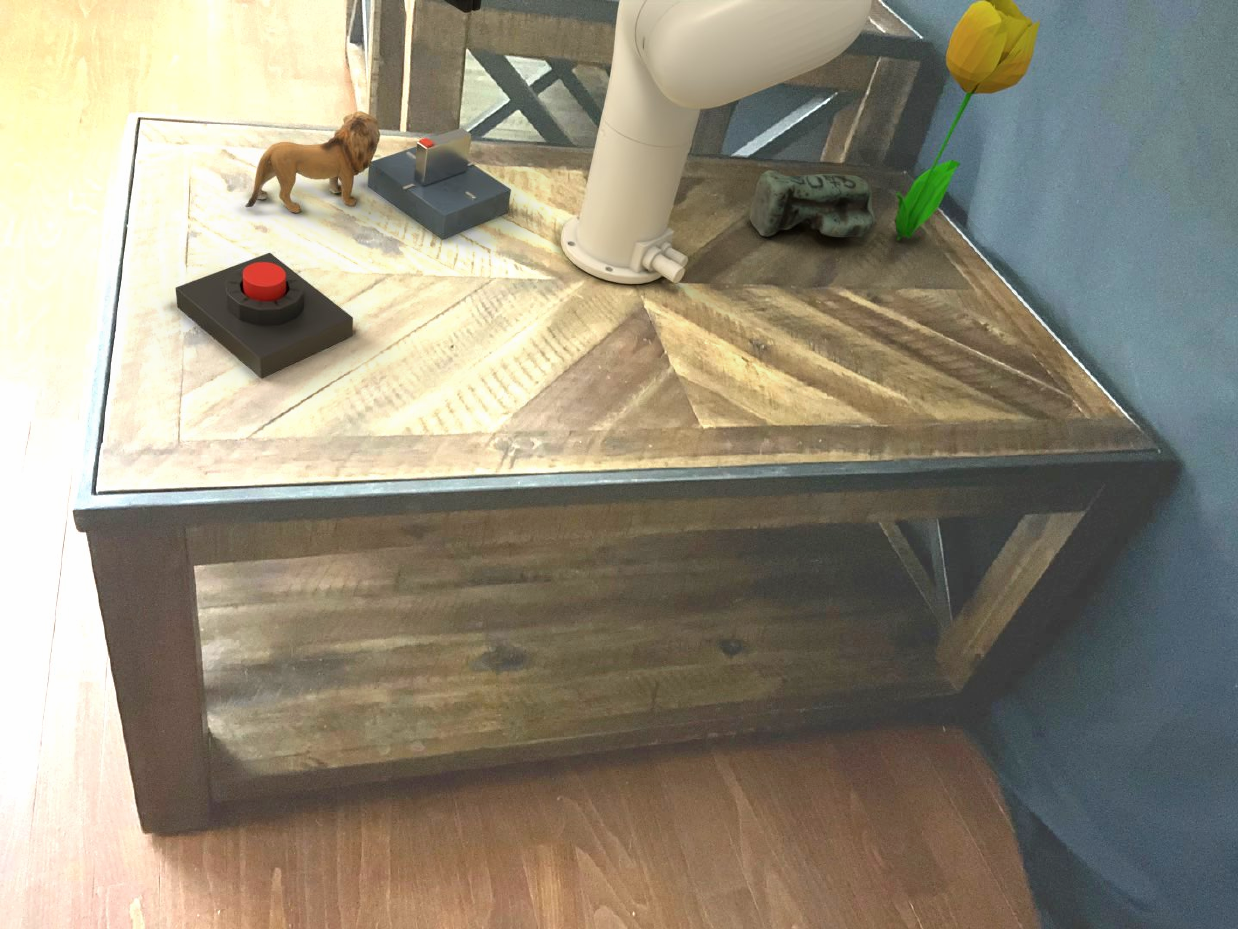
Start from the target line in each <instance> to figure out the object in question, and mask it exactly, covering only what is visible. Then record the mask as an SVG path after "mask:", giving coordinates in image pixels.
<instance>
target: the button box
mask: <svg viewBox="0 0 1238 929" xmlns="http://www.w3.org/2000/svg"><path fill="white" fill-rule="evenodd" d="M258 262H268V263H273V264H276V265H278V266H280V267H281V268H282V269H283V270H284V271H285V273H286V293H285V295H284V296H283V297H282V298H280V299H278V300H275V301H259V300H255V299H251V298H249V297H248V296H247V295H246V294H245V293H244V289H243V271H244V269H245V268H246V267H247V266H249V265H250V264H253V263H258ZM175 298H176V306H177V308H178V309H179V310H180V311H181V312H183V313H184V314H185V316H188V318H189V319H191V320H192V321H193V322H194V323H195V324H197V325H198V326H199V327H200V328H201V329H203V330H204V331H205V332H206V333H207V334H209V335H210V337H211V338H212V339H214V340H216V341H217V343H219V344H220V345H221V346H222V347H223V348H225V349H226V350H227V351H228V352H229V353H231V354H232V355H233V356H234V357H235V358H237V359H238V360H239V361H240V362H242V364H243V365H245V366H246V367H247V368H248V369H250V370H251V371H252V372H253V373H254V374H255V375H257V376H258V377H259V378H260V379H262V378H265V377H267V376H269V375H272V374H274V373H276V372H278V371H281V370H282V369H284V368H287V367H289V366H291V365H293V364H295V363H297V362H299V361H302V360H304V359H306V358H308V357H310V356H312V355H314V354H318V353H320V352H322V351H324V350H325V349H328V348H329V347H332V346H335V345H336V344H338V343H341V342H343V341H345V340H347V339H349V338H351V337H353V331H354V330H353V327H354V317H353V316H352V315H351V314H349V313H348V312H346V310H345V309H343V308H341V307H340V306H339V305H338V304H336V303H335V302H334V301H333V300H331V299H330V298H329V297H328V296H326V295H325V294H324V293H322V292H321V291H320V290H319V289H317V288H316V287H314V286H313V285H312V284H311V283H310V282H308V281H307V280H306V279H305V278H304V277H302V276H301V275H299V274H298V273H297V272H296V271H294V270H293V269H292V268H290V267H289V266H288V265H286V264H285V262H283V261H281V260H280V259H279V258H278V257H276V256H275V255H274V254H272V253H271V252H267V253H265V254H261V255H259V256H257V257H254V258H251V259H249V260H246V261H243V262H241V263H238V264H236V265H235V264H234V265H233V266H230V267H227V268H224V269H221V270H219V271H216V272H213V273H211V274H207V275H204V276H202V277H199V278H197V279H195V280H192V281H189V282H186V283H184V284H181V285H179V286H176V287H175Z"/></svg>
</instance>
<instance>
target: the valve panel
mask: <svg viewBox="0 0 1238 929" xmlns="http://www.w3.org/2000/svg"><path fill="white" fill-rule="evenodd" d="M416 148H417V146H414V147H411V148H407V149H404V150H402V151H399V152H396V153H393V154H389V155H386V156H384V157H380V158H378V159H375V160H372V161H371V163H370V166H369V167H368V173H367V174H368V175H367V187H368V188H369V189H372V190H373V191H374V192H375V193H377V194H378V195H379V196H381V197H382V198H384V199H385V200H386V201H388V202H390V203H391V204H392V205H394V206H395V207H396V208H398V209H399V210H401V212H403V213H405V214H406V215H408V216H410V218H412V219H413V220H415V221H416V222H417V223H419V224H420V225H422V226H423V227H424V228H426V229H427V230H428V231H430V232H431V233H433V234H435V236H437V237H438V238H440V239H441V240H444V239H445V240H446V239H448V238H450V237H452V236H455V235H457V234H460V233H461V232H464V231H467V230H469V229H471V228H474V227H476V226H478V225H481V224H484V223H486V222H488V221H490V220H493V219H496V218H498V217H500V216H502V215H505V214H507V213H508V212H509V206H510V199H511V193H512V189H511V188H509V187H508V186H507V185H505V184H504V183H503V182H501V181H500V180H498V179H496V178H495V177H493V176H492V175H490V174H488V173H487V172H485V171H484V170H483V169H481V168H480V167H479V166H477V164H478V163H477V162H476V161H475V160H474V161H468V169H467V171H466V172H463V173H460V174H457V175H454V176H451V177H449V178H446V179H443V180H440V181H437V182H435V183H432V184H429V185H426V186H422V185H421V184H419V183H418V182H417V181H415V180H414V172H415V160H416Z"/></svg>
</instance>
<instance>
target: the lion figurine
mask: <svg viewBox="0 0 1238 929" xmlns="http://www.w3.org/2000/svg"><path fill="white" fill-rule="evenodd" d="M342 119H343V124H341V127H340V128H339V129H337V130H336V131H335V132H334V136H333V137H331V138H330V139H328V141H326V142H323V143H317V144H299V143H294V142H292V141H291V142H290V141H279V142H276V143H273V144H271V145H270V146H268V148H267V149H266V150H265V151H264V152H263V154H262V156H261V157H260V160H259V161H258V164H257V168H256V172H255V177H254V185H253V191H252V194H251V197H250V198H249V199H248V202H247V203H246V204H245V208H252V207H254V206H255V204H256V202H257V199H258V200H266V199H267V198H268V192H267V191H265V190H262V189H263V187H264V185H265V184H266V183H267V182H269V181H271V180H272V179H274V178H275V177H276V180H277V181H278V184H279V188H280V189H279V195H278V197H279V199H280V200H281V201H282V203H283V204H284V206H285V207H286V208H287V209H288V210H289V212H292V213H295V214H296V213H299V212H301V211H302V207H301V205H300V204H299V203H297V202H293V201H292V199H291V192H292V190H293V188H294V186H295V184H296V182H297V181H296V179H297V174H298V175H300V176H302V177H304V178H307V179H309V180H317V181H319V180H320V181H321V180H329V181H328V190H329V191H330V192H331V193H333V194H339V193H341V194H340V195H341V196H340V197H341V199H342V200H343V203H344V204H345V205H347V206H351V207H352V206H355V205H356V203H357V201H356V198H355V197H353V196H351V194H352V191H353V187H354V182H355V176H358V175H359V174H361V173H364V172H365V171H366V170H367V169H369V166H370V163H371V161H373V159H374V155H375V154H376V152H377V149H378V144H379V143H380V139H381V133H380V129H379V127H378V119H377V117H376V116H372V115H371V114H370V113H367V112H365V111H355V112H353V113H349V114H347V115H345V116H344V117H343V118H342ZM339 182H340V184H341V185H340V184H339Z"/></svg>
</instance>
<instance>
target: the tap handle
mask: <svg viewBox="0 0 1238 929" xmlns="http://www.w3.org/2000/svg"><path fill="white" fill-rule="evenodd" d="M472 136H473V135H472V133H470V132H469V131H468V130H466V129H465V128H462V127H460V128H457V129H454V130H451V131H448V132H445V133H441V134H438V135H435V136H431V137H428V138H427V137H424V138H421V139H419V141H417V142H416V147H417V148H416V160H415V172H414V180H415V181H417V182H418V183H419V184H421V185H422V186H426V185H429V184H432V183H435V182H437V181H440V180H443V179H446V178H449V177H451V176H454V175H457V174H460V173H463V172H466V171H467V169H468V161H469V159H470V153H471V152H470V151H471V142H472ZM469 162H470V161H469Z"/></svg>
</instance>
